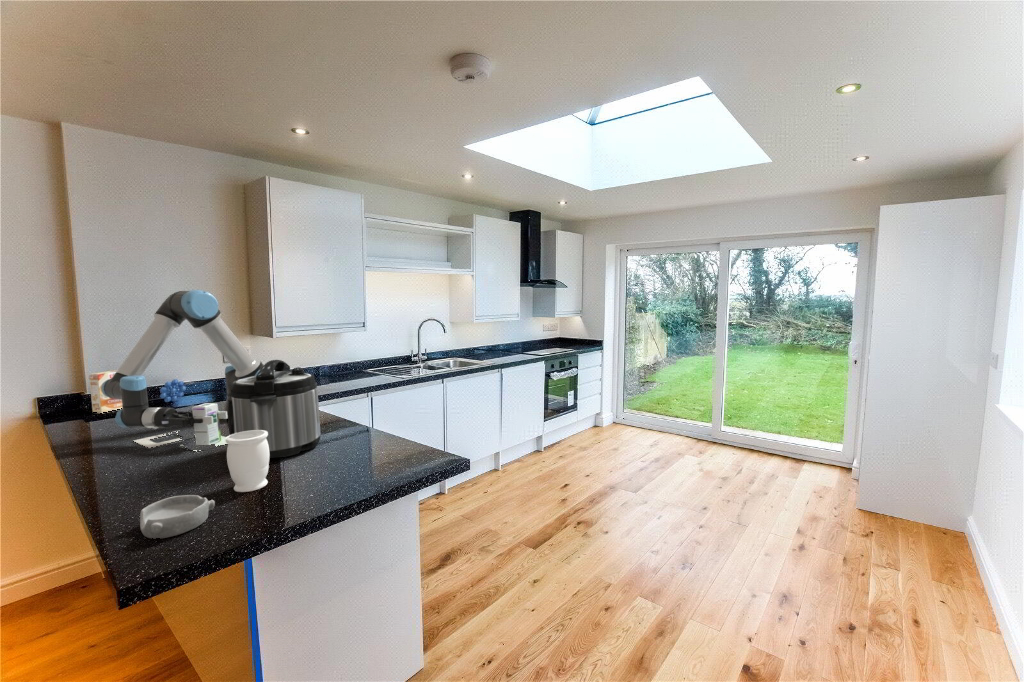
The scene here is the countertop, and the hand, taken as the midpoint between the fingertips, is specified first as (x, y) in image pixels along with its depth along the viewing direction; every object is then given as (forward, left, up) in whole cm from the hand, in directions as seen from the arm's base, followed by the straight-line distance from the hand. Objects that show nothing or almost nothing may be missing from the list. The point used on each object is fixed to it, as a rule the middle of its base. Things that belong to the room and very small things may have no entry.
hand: (219, 417), depth 171 cm
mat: (+2, -4, -10) cm, 11 cm away
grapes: (-23, -106, -10) cm, 109 cm away
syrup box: (+3, -4, -10) cm, 11 cm away
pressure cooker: (-8, +25, -10) cm, 28 cm away
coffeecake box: (+1, -111, -10) cm, 112 cm away
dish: (+35, +59, -10) cm, 69 cm away
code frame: (+8, -26, -10) cm, 29 cm away
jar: (+14, +51, -10) cm, 54 cm away
